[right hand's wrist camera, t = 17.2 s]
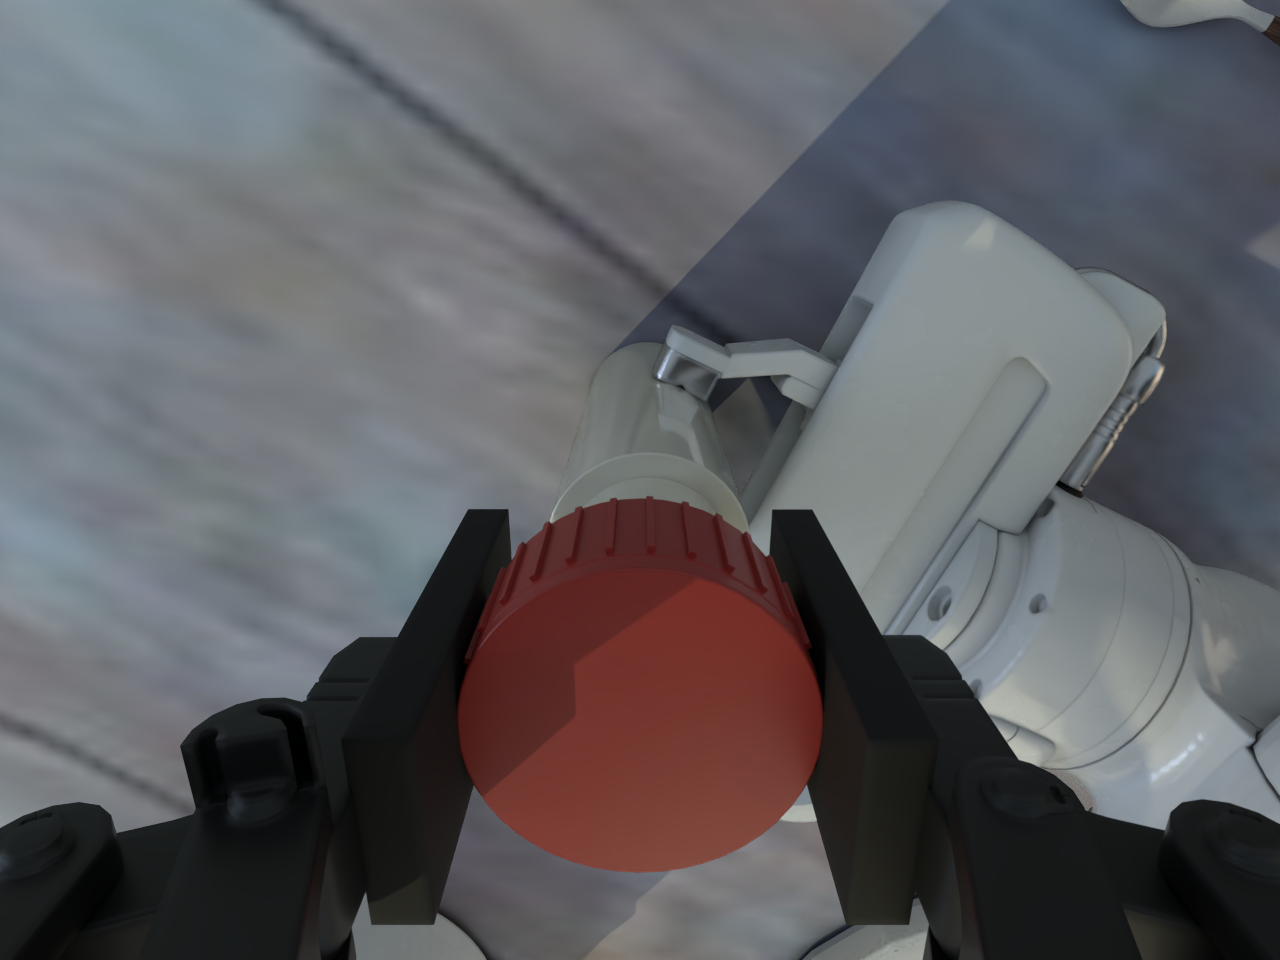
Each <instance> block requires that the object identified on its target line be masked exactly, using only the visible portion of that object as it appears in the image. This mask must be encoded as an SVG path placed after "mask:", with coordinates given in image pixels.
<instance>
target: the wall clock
mask: <svg viewBox="0 0 1280 960" xmlns="http://www.w3.org/2000/svg"><path fill="white" fill-rule="evenodd" d="M928 926H929V923H928V920H927V918H926V915H925V913H924V910H923V908H922V905H921V903H920V900H919V898H916V899H913V905H912V911H911V917H910V923H909V925H854V926H852V927H850V928H849V929H847V930H845V931H844V932H842V933H840V934H839V935H837V936H835V937H834V938H832V939H830V940H828V941H827V942H825V943H823V944H822V945H820V946H818V947H817V948H815V949H813V950H812V951H811V952H810V953H809V954H808V955H807V956H806V957H805V958H804V959H803V960H923V954H924V948H925V943H926V937H927V931H928Z"/></svg>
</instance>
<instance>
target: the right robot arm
mask: <svg viewBox="0 0 1280 960" xmlns="http://www.w3.org/2000/svg"><path fill="white" fill-rule="evenodd" d="M769 555H771V557H772V558H773V560H774V562H775V565H776V568H777V571H778V573H779V576H780V579H781V581H782V583H783V582H786V581H787V583H788V585H789V588H790V590H791V593H792V596H793V598H794V601H795V604H796V606H797V609H798V611H799V614H800V617H801V619H802V622H803V624H804V627H805V630H806V632H807V635H808V637H809V640H810V643H811V645H812V648H810V649H808V651H809V653H810V656H811V659H812V662H813V664H814V667H815V670H816V672H817V679H818V683H819V686H820V690H821V693H822V700H823V708H824V717H823V728H822V739H821V748H820V754H819V757H818V759H817V762H816V765H815V768H814V771H813V773H812V775H811V777H810V779H809V781H808V783H807V788H808V791H809V795H810V798H811V802H812V805H813V809H814V812H815V816H816V819H817V823H818V826H819V830H820V833H821V837H822V840H823V844H824V847H825V851H826V854H827V858H828V861H829V865H830V869H831V872H832V876H833V879H834V883H835V886H836V890H837V893H838V897H839V900H840V904H841V907H842V911H843V914H844V918H845V921H846V925H909V923H910V917H911V911H912V905H913V899H914V893H915V890H916V893H917V895H918V898H919V900H920V903H921V905H922V908H923V910H924V913H925V915H926V918H927V920H928V923H929V926H928V931H927V937H926V943H925V948H924V954H923V960H1280V824H1279V823H1277V822H1275V821H1273V820H1271V819H1269V818H1268V817H1266V816H1264V815H1262V814H1260V813H1258V812H1255V811H1252V810H1249V809H1247V808H1243V807H1240V806H1237V805H1234V804H1231V803H1228V802H1220V801H1213V800H1206V799H1200V800H1193V801H1187V802H1182V803H1181V804H1179V805H1178V806H1177V807H1176V808H1175V809H1174V810H1172V811H1171V812H1170V816H1169V819H1168V822H1167V825H1166V829H1165V830H1161V829H1157V828H1153V827H1148V826H1144V825H1139V824H1135V823H1131V822H1126V821H1122V820H1118V819H1113V818H1109V817H1105V816H1102V815H1099V814H1095V813H1092V812H1089V811H1086V810H1085V808H1084V807H1083V805H1082V803H1081V802H1080V800H1079V799H1078V797H1077V796H1076V794H1075V793H1074V791H1073V790H1072V789H1071V788H1069V787H1068V786H1067V785H1066V784H1065V783H1063V782H1062V781H1061V780H1060V779H1059V778H1057V777H1056V776H1055V775H1053V774H1051V773H1050V772H1048V771H1046V770H1044V769H1042V768H1040V767H1038V766H1036V765H1034V764H1032V763H1029V762H1025V761H1021V760H1019V759H1018V758H1017V756H1016V755H1015V753H1014V752H1013V750H1012V749H1011V747H1010V746H1009V745H1008V743H1007V742H1006V740H1005V739H1004V737H1003V736H1002V734H1001V733H1000V731H999V730H998V728H997V727H996V725H995V724H994V722H993V721H992V719H991V718H990V716H989V715H988V713H987V712H986V710H985V709H984V707H983V706H982V704H981V703H980V702H979V700H978V699H977V698H974V693H973V691H972V690H971V688H970V687H969V685H968V684H967V682H966V681H965V680H962V675H961V673H960V672H959V670H958V669H957V667H956V666H955V664H954V663H953V662H952V660H951V659H950V657H949V656H948V654H947V653H946V652H944V651H943V650H941V649H940V648H939V647H937V646H936V645H934V644H933V643H932V642H930V641H929V640H927V639H926V638H925V637H923V636H922V635H882V634H881V633H880V631H879V629H878V627H877V625H876V624H875V622H874V620H873V618H872V616H871V615H870V613H869V611H868V609H867V607H866V606H865V604H864V602H863V600H862V598H861V597H860V595H859V593H858V591H857V589H856V588H855V586H854V584H853V582H852V580H851V578H850V577H849V575H848V573H847V571H846V569H845V568H844V566H843V564H842V562H841V560H840V559H839V557H838V555H837V553H836V551H835V550H834V548H833V546H832V544H831V542H830V541H829V539H828V537H827V535H826V533H825V532H824V530H823V528H822V526H821V524H820V523H819V521H818V519H817V517H816V515H815V513H814V512H813V510H812V509H772V520H771V535H770V551H769ZM511 561H512V559H511V543H510V528H509V512H508V509H468V511H467V513H466V514H465V516H464V518H463V520H462V522H461V523H460V525H459V527H458V529H457V531H456V532H455V534H454V536H453V538H452V540H451V541H450V543H449V545H448V547H447V549H446V550H445V552H444V554H443V556H442V558H441V560H440V561H439V563H438V565H437V567H436V569H435V570H434V572H433V574H432V576H431V578H430V579H429V581H428V583H427V585H426V587H425V588H424V590H423V592H422V594H421V596H420V597H419V599H418V601H417V603H416V605H415V606H414V608H413V610H412V612H411V614H410V616H409V617H408V619H407V621H406V623H405V625H404V626H403V628H402V630H401V632H400V634H399V635H398V637H359V638H358V639H357V640H355V641H354V642H352V643H351V644H350V645H348V646H347V647H346V648H344V649H343V650H341V651H340V652H339V653H337V654H336V655H335V656H333V658H332V659H331V661H330V662H329V664H328V665H327V667H326V668H325V670H324V671H323V673H322V674H321V676H320V677H319V682H316V683H315V685H314V686H313V688H312V689H311V691H310V692H309V694H308V695H307V700H306V701H303V702H300V701H296V700H292V699H288V698H261V699H257V700H253V701H249V702H245V703H241V704H236V705H234V706H232V707H230V708H227V709H225V710H223V711H221V712H218V713H216V714H214V715H212V716H211V717H209V718H208V719H206V720H205V721H204V722H202V723H201V724H199V725H198V726H197V727H195V728H194V729H193V730H192V731H191V732H190V733H189V735H188V736H187V737H186V739H185V740H184V741H183V743H182V744H181V745H180V747H181V751H182V755H183V759H184V763H185V767H186V771H187V775H188V779H189V783H190V787H191V791H192V795H193V799H194V802H195V806H196V810H195V812H194V814H192V815H189V816H186V817H182V818H179V819H176V820H172V821H168V822H163V823H159V824H155V825H150V826H146V827H142V828H137V829H133V830H129V831H124V832H120V833H116V830H115V827H114V823H113V820H112V817H111V815H110V814H109V813H108V812H107V811H106V810H104V809H103V808H102V807H101V806H100V805H94V804H88V803H81V802H77V803H70V804H62V805H55V806H51V807H48V808H45V809H42V810H39V811H35V812H33V813H30V814H27V815H24V816H22V817H20V818H18V819H16V820H14V821H13V822H11V823H9V824H7V825H5V826H3V827H1V828H0V960H356V950H355V943H354V937H353V931H352V925H353V923H354V920H355V918H356V915H357V913H358V910H359V908H360V905H361V903H362V900H363V898H364V895H365V893H366V896H367V902H368V908H369V914H370V920H371V925H434V923H435V920H436V916H437V912H438V909H439V905H440V902H441V898H442V895H443V891H444V888H445V884H446V881H447V877H448V874H449V870H450V867H451V863H452V860H453V856H454V853H455V849H456V846H457V842H458V838H459V835H460V831H461V828H462V824H463V821H464V817H465V814H466V810H467V807H468V803H469V800H470V796H471V793H472V789H473V786H474V784H473V782H472V780H471V778H470V776H469V774H468V772H467V769H466V766H465V763H464V760H463V757H462V754H461V751H460V742H459V733H458V722H457V704H458V697H459V691H460V687H461V684H462V681H463V678H464V675H465V672H466V669H467V666H468V664H464V663H463V661H464V658H465V655H466V652H467V650H468V647H469V645H470V642H471V639H472V637H473V634H474V632H475V629H476V626H477V624H478V621H479V619H480V616H481V613H482V611H483V608H484V606H485V603H486V600H487V598H488V595H490V594H491V592H492V589H493V586H494V584H495V581H496V578H497V576H498V573H499V571H500V569H501V568H502V567H503V568H505V569H506V568H507V567H508V565H509V564H510V562H511Z"/></svg>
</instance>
